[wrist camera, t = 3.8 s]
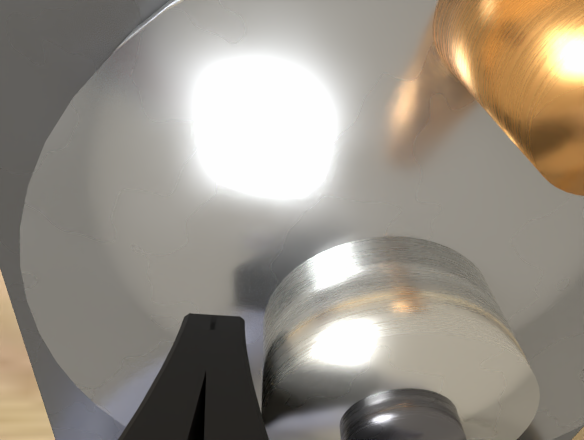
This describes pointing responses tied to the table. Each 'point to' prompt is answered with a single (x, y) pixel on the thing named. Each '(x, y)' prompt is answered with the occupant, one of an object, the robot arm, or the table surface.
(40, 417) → the table surface
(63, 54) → the turntable base
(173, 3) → the platter
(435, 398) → the cover
